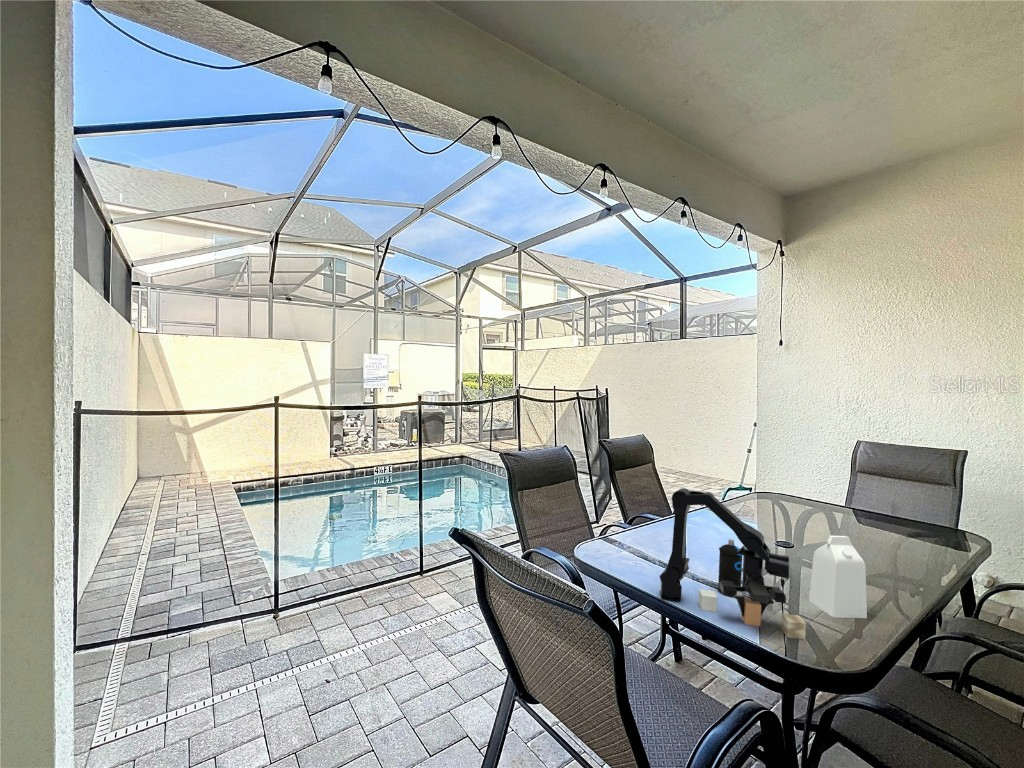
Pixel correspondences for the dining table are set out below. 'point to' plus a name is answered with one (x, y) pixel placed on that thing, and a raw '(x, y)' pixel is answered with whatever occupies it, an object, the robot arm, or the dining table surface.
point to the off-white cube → (708, 600)
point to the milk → (839, 579)
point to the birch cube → (793, 626)
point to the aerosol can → (730, 564)
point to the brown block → (751, 612)
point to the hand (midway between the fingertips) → (750, 617)
